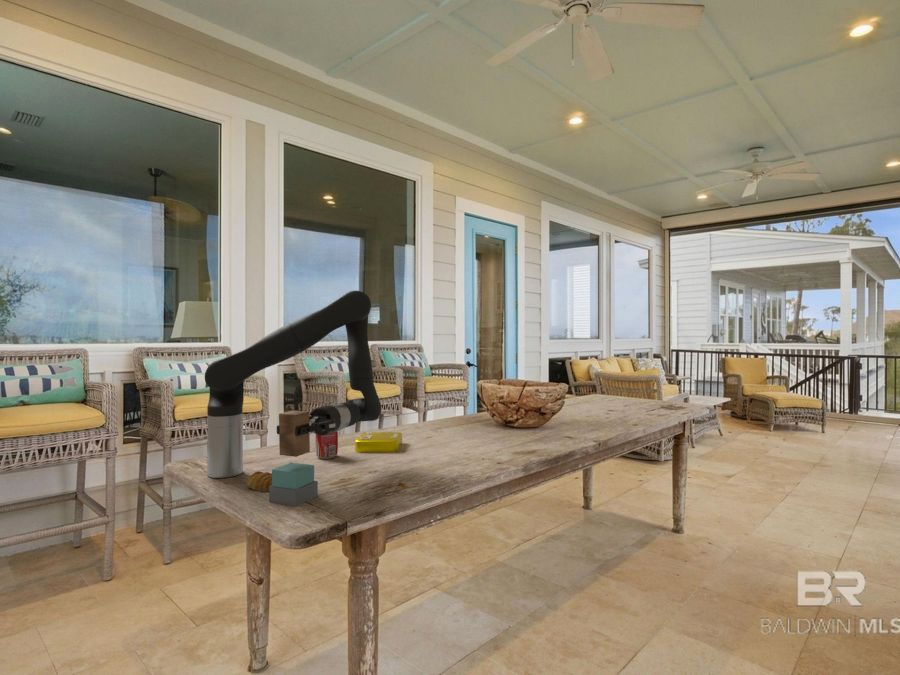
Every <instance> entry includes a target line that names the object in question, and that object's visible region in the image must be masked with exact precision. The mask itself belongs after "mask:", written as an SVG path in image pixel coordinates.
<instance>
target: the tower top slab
mask: <svg viewBox="0 0 900 675" xmlns="http://www.w3.org/2000/svg"><path fill="white" fill-rule="evenodd" d="M271 473H272V486H274V487H281V488H288V489H298V488H300V487H303V486H305V485H307V484H309V483H311V482H314V481H315V464H308V463H307V464H306V463H299V462H288V463H287V464H283V465H280V466H278V467H275V468H273V469H271Z"/></svg>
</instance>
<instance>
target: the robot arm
mask: <svg viewBox="0 0 900 675" xmlns="http://www.w3.org/2000/svg"><path fill="white" fill-rule="evenodd" d="M371 309H372V302H371V299H370V297H369V295H368V294H367V293H365V292H364V291H361V290H350V291H348V292H346V293H345V294H343V295H342V296H339V297H338V298H337V299H335V300H334V301H333V302H330V303H329V304H328V305H326V306H324V307H322V308H320V309H318V310H316V311H313V312H311V313H308V314H307V315H304V316H302V317H300V318H298V319H296V320H293V321H291V322H289V323H287V324H286V325H283V326H281V327H279V328H277V329H275V330H274V331H272V332H270V333H269V334H267V335H265V336H264V337H262V338H261V339H259V340H258V341H257V342H255V343H253V344H252V345H250V346H248V347H247V348H245V349H243V350H240V351H238V352H236V353H234V354H233V353H232V354H231V355H229V356H228V355H227V356H226V357H223V358H220V359H217V360H216V359H215V360H214V361H212V362H211V363H210V364H209V365H208V366H207V368H206V370H205V373H204V382H205V383H206V385H207V387H208V388H209V398H208V403H207V408H206V410H207V411H206V414H207V415H206V416H207V419H206V420H207V423H206V424H207V441H206V472H207V476H208V477H210V478H213V479H214V478H215V479H216V478H217V479H222V478H231V477H235V476H238V475H241V474H242V473H243V472H244V459H243V458H244V448H243V447H244V445H243V443H244V442H243V441H244V434H243V433H244V432H243V430H244V428H243V414H244V413H243V412H244V411H243V407H244V406H243V405H244V394H245V393H244V392H245V391H244V387H245V386H244V384H245V380H247V379H248V378H250V377H251V376H253V375H255V374H256V373H259V372H260V371H261V370H264V369H267V368H269V367H272V366H274V365H277V364H280V363H282V362H284V361H286V360H289V359H291V358H294V357H296V356H297V355H299V354H301V353H303V352H305V351H306V350H308V349H310V348H311V347H313V346H315V345H316V344H317V343H319V342H320V341H321V340H323V339H324V338H325V337H327V336H328V335H329V334H330V333H332V332H334V331H335V330H337V329H339V328H342V327H345V330H346V331H345V332H346V338H347V349H348V350H347V353H348V355H347V356H348V357H347V358H348V362H347V363H348V376H349V386H350V388H351V390H353V391H357V392H360V393H361V394H362V396H363V397H359V398H353V399H349V400H347V401H344V402H340V403H332V404H328V405H323V406H318V407H315V408H313V410H311V412H310V413H309V423H307V424H304V425H300V426H297V427H295V435H296V436H300V435H304V434H307V433H308V434H310V435H311V434H315V435H316V434H317V435H320V436H324V435H327V434H330V433H333V432H336V431H338V432H339V431H341V430H344V429H345V428H348V427H351V426H354V425H355V424H357V423H359V422H360V423H361V422H373V421H376V420H378V419H379V418H380V416H381V413H382V405H381V401H380V398H379V396H378V392H377V389H376V386H375V384H374V374H373V365H372V357H371V356H372V355H371V351H370V346H369V339H368V338H369V336H368V323H369V315H370V313H371ZM276 434H277V435H279V424H277V425H276Z"/></svg>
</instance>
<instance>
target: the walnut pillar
mask: <svg viewBox="0 0 900 675" xmlns="http://www.w3.org/2000/svg"><path fill="white" fill-rule="evenodd" d="M309 415H310V411H305V410H289V411H285V412H284V411H283V412H281V413H279V414H278V425H279V434H278V435H279V436H278V437H279V438H278V440H279V443H278V444H279V446H278V447H279V456H284V457H295V458H297V457H299V456H302V455H305V454H308V453H311V449H310V448H311V447H310V444H311V442H310V441H311V440H310V439H311V438H310V435H311V434H308V433H307V434H304V435H300V436H296V435H295V427H297V426H300V425H304V424H307V423H309Z"/></svg>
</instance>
